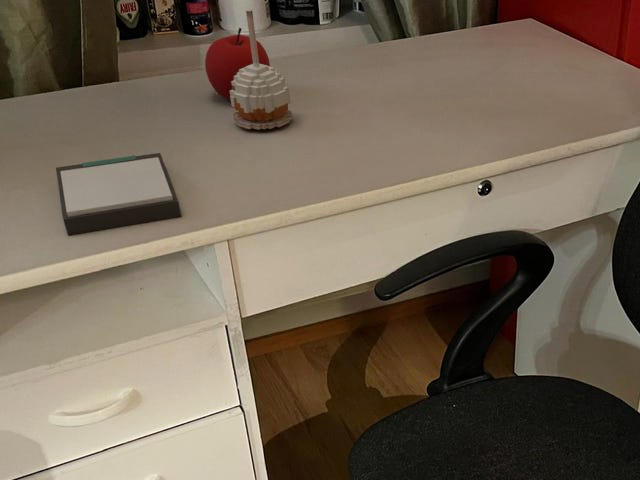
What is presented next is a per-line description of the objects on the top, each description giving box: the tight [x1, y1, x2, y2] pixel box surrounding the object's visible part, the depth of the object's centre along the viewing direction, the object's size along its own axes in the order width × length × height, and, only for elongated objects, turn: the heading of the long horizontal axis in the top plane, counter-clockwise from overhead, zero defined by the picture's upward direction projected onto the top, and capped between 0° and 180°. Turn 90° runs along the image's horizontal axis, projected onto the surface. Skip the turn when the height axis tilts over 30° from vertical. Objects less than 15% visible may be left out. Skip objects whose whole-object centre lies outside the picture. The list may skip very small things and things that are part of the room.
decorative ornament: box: [230, 9, 293, 131], centre depth 116 cm, size 8×8×15 cm
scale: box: [55, 152, 182, 236], centre depth 100 cm, size 14×12×3 cm
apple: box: [204, 26, 271, 101], centre depth 125 cm, size 9×9×10 cm
